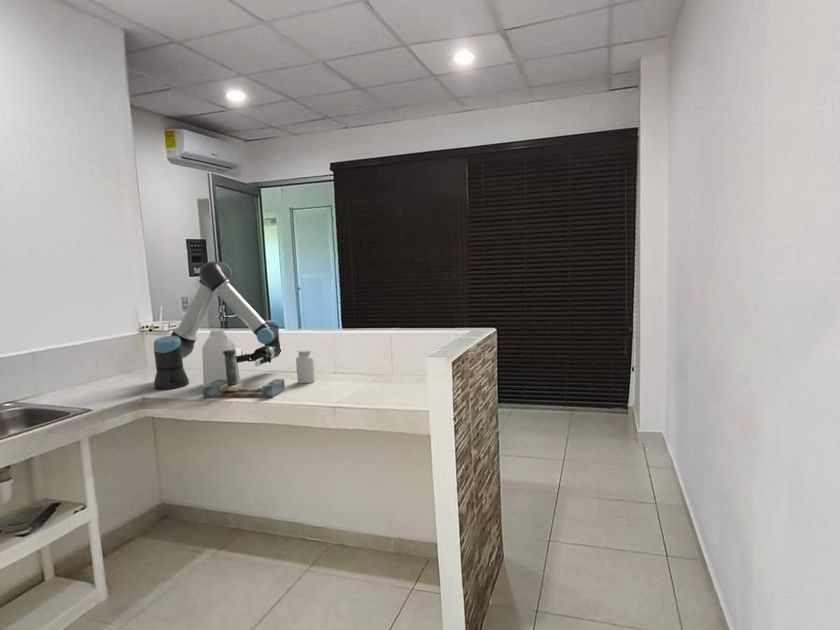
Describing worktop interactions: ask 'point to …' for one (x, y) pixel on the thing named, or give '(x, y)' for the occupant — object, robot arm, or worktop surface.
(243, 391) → the rail track
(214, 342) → the milk
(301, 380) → the pill bottle
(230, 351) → the dark grey post
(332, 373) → the worktop surface
